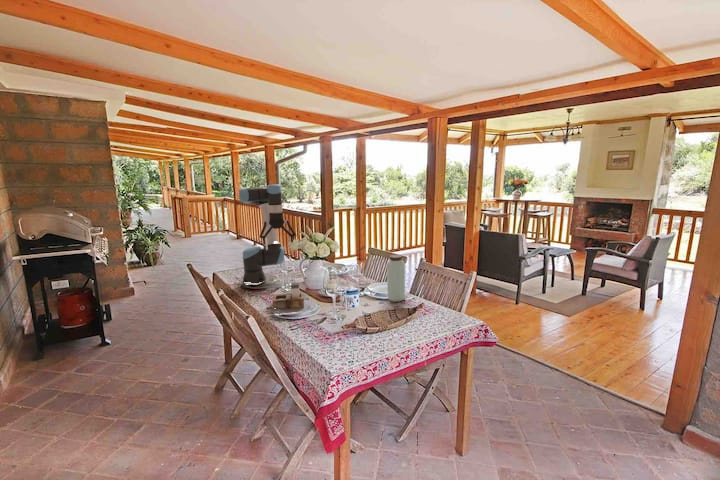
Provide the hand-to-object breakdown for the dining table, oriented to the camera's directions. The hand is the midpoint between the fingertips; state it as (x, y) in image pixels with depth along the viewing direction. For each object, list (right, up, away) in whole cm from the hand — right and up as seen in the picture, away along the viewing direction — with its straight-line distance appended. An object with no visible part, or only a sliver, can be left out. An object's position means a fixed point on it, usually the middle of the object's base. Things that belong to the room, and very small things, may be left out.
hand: (278, 248), depth 204 cm
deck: (+11, -29, +1) cm, 31 cm away
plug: (+12, -30, -10) cm, 34 cm away
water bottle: (+67, -28, -4) cm, 73 cm away
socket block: (+8, -31, -11) cm, 34 cm away
